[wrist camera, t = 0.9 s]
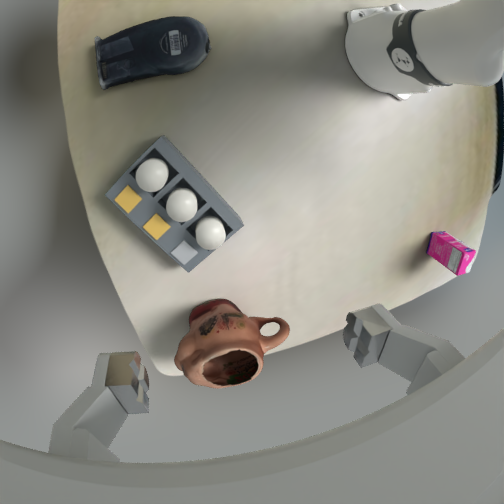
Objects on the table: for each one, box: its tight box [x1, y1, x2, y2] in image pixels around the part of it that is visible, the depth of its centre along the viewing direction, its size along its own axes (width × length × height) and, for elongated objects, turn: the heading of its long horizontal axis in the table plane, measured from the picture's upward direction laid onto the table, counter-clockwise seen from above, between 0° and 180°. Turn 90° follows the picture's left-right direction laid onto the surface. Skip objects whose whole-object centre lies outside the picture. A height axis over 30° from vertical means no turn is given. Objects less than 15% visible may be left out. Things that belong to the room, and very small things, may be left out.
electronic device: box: [95, 16, 211, 90], centre depth 26 cm, size 10×6×15 cm
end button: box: [136, 158, 169, 192], centre depth 32 cm, size 4×4×2 cm
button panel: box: [105, 135, 244, 273], centre depth 37 cm, size 11×17×4 cm, turn 39°
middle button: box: [166, 187, 197, 222], centre depth 34 cm, size 4×4×2 cm
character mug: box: [174, 299, 290, 388], centre depth 44 cm, size 20×12×14 cm, turn 115°
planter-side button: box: [195, 216, 226, 250], centre depth 37 cm, size 4×4×2 cm
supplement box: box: [426, 231, 476, 276], centre depth 50 cm, size 6×6×12 cm
